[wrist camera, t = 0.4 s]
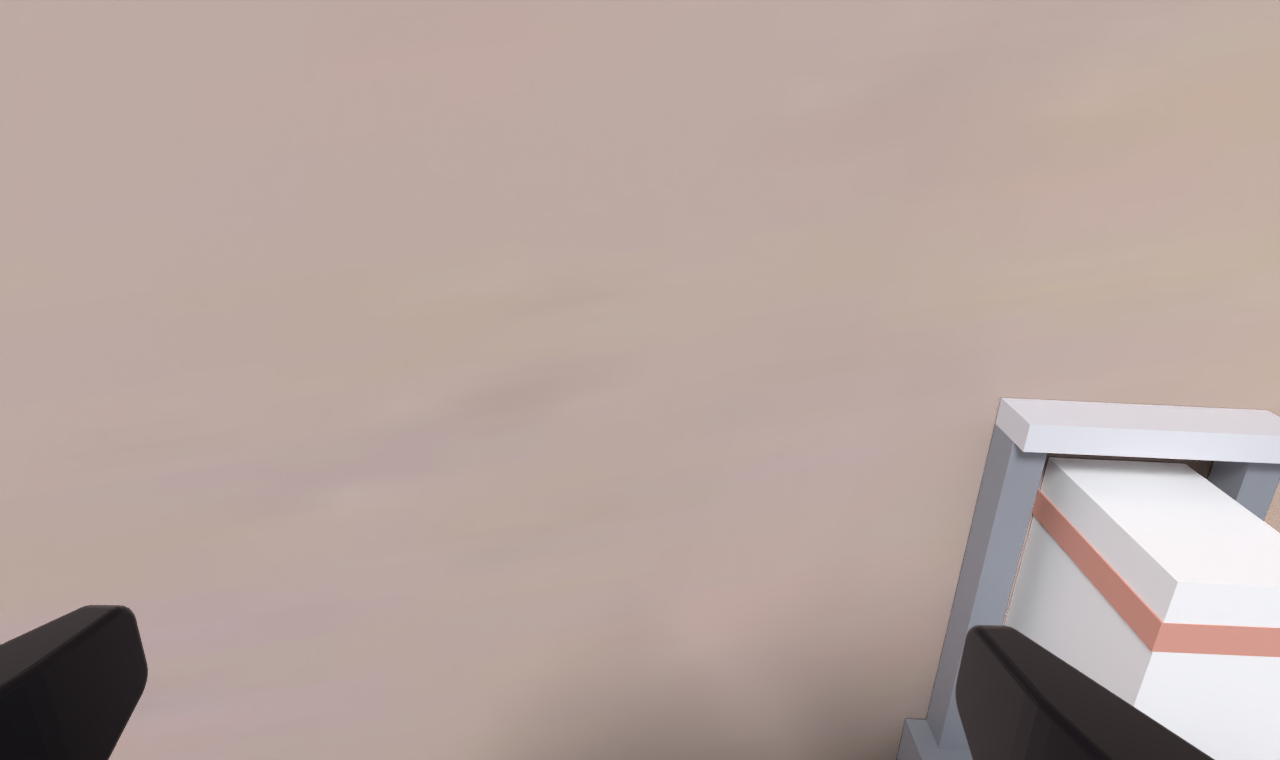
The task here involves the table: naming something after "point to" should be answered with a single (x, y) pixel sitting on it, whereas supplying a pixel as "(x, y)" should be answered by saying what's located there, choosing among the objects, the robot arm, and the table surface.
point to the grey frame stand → (1023, 435)
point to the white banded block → (1159, 598)
